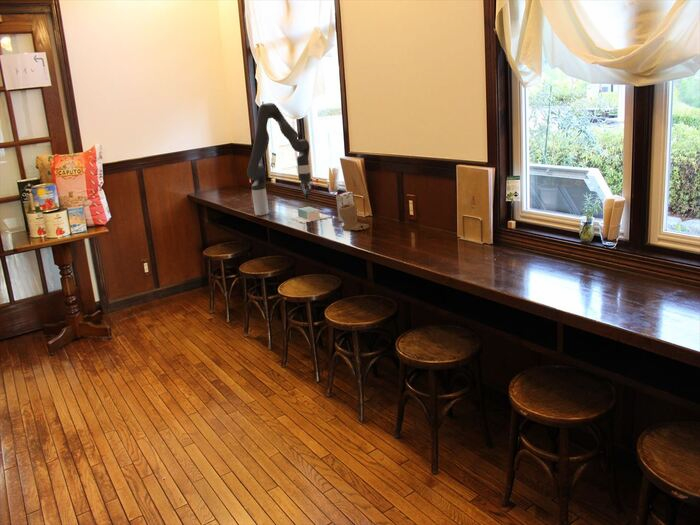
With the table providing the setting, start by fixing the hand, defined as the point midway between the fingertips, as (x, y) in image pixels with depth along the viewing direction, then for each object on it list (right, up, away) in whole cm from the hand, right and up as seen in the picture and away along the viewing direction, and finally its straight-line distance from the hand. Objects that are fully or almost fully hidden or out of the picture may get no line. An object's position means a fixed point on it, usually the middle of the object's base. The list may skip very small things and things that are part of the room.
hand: (307, 199), depth 391 cm
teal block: (-3, -7, +8) cm, 11 cm away
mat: (+3, -12, +1) cm, 12 cm away
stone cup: (+29, -21, -37) cm, 51 cm away
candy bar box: (+25, -14, -12) cm, 31 cm away
